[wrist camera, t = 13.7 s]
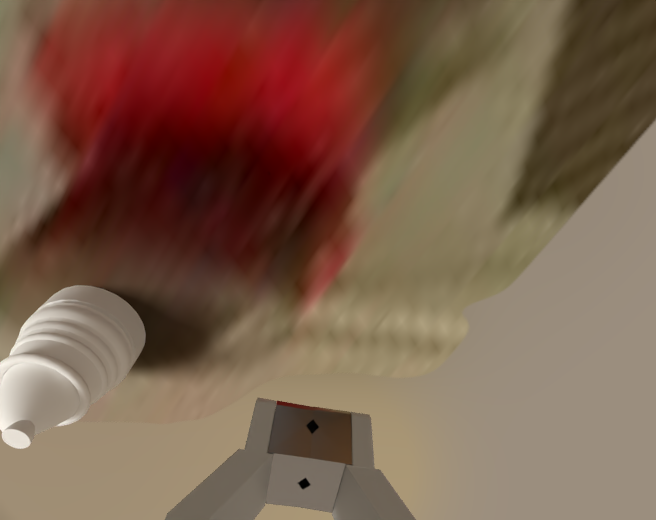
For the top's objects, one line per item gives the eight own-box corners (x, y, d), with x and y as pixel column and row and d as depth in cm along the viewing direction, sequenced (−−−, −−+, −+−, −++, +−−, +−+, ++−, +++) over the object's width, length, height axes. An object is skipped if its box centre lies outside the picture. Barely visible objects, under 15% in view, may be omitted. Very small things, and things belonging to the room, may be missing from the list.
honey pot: (107, 271, 53) (5, 375, 37) (164, 350, 59) (97, 471, 43) (23, 304, 56) (-105, 414, 40) (86, 377, 61) (-6, 500, 45)
